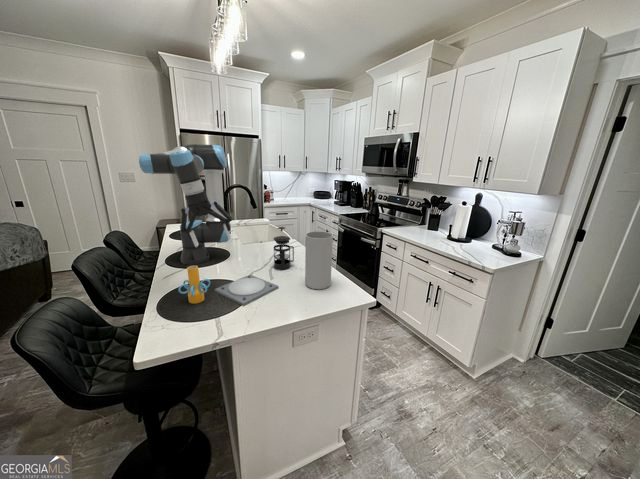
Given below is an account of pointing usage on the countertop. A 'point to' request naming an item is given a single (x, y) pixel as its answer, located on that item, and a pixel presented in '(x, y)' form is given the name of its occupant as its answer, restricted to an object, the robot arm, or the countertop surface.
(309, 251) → the cylinder vase
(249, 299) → the grey plate with disc
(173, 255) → the countertop surface
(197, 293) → the orange ringed tube
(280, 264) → the french press
